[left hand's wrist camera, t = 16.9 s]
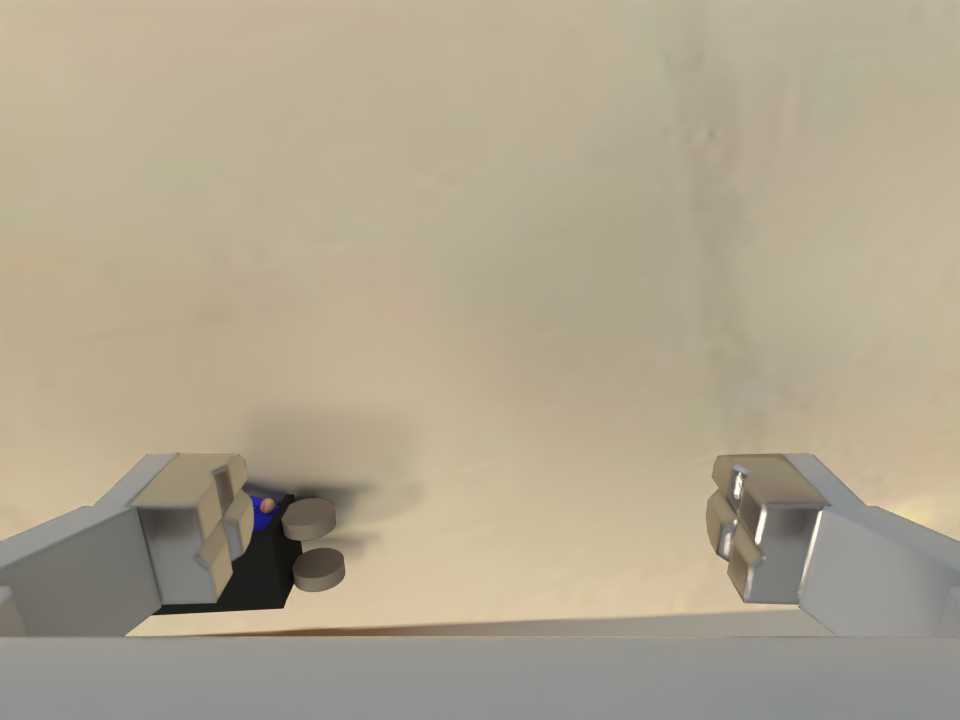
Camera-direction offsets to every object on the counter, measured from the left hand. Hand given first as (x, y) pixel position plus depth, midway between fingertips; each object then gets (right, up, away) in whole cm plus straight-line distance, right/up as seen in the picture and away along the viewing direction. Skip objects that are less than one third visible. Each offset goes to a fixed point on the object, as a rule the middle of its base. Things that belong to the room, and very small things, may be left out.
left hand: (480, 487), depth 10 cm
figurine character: (-18, -10, +35) cm, 40 cm away
